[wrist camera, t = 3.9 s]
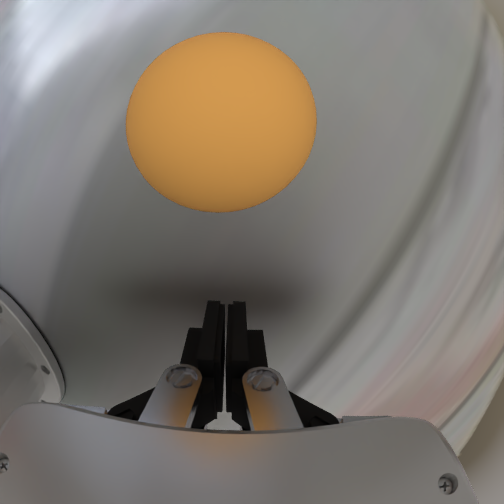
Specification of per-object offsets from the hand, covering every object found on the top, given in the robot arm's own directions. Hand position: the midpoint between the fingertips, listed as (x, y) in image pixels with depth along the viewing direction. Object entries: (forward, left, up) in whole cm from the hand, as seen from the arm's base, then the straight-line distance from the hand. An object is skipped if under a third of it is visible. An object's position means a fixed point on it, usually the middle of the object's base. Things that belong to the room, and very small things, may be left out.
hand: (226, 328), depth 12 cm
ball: (0, +8, +1) cm, 9 cm away
